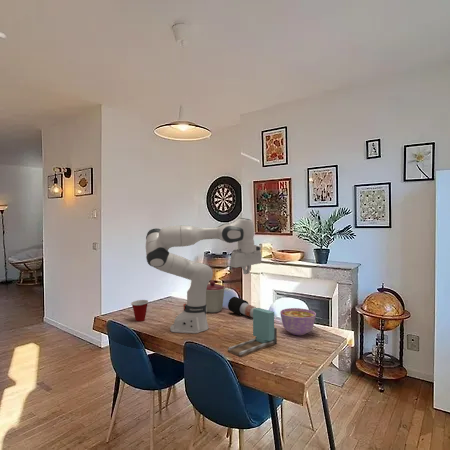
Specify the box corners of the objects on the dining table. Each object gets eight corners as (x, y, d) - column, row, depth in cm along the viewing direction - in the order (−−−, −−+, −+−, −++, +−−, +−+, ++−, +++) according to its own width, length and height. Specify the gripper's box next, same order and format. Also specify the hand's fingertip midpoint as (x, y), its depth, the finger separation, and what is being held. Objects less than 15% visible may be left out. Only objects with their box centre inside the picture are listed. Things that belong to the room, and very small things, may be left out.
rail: (240, 357, 157) (240, 340, 157) (227, 351, 163) (227, 335, 163) (276, 343, 174) (276, 328, 174) (263, 339, 181) (263, 324, 181)
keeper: (268, 345, 168) (268, 313, 168) (252, 339, 176) (252, 309, 176) (274, 342, 171) (274, 311, 171) (258, 337, 180) (258, 307, 179)
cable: (267, 331, 207) (264, 318, 203) (230, 313, 232) (226, 302, 228) (277, 320, 213) (274, 308, 209) (240, 305, 238) (236, 293, 234)
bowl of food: (290, 325, 205) (290, 306, 204) (321, 332, 192) (322, 311, 192) (273, 333, 189) (273, 313, 189) (306, 341, 176) (306, 320, 176)
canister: (216, 306, 250) (216, 278, 249) (230, 311, 235) (230, 281, 234) (195, 309, 239) (194, 280, 239) (208, 315, 224) (208, 284, 224)
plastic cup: (128, 320, 215) (128, 301, 215) (143, 316, 222) (143, 298, 222) (136, 324, 207) (135, 304, 207) (151, 320, 214) (151, 301, 214)
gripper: (235, 250, 171) (236, 277, 172) (263, 247, 184) (263, 272, 185) (227, 249, 176) (228, 275, 176) (255, 246, 189) (255, 270, 190)
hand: (246, 273), depth 181 cm, fingers closed
